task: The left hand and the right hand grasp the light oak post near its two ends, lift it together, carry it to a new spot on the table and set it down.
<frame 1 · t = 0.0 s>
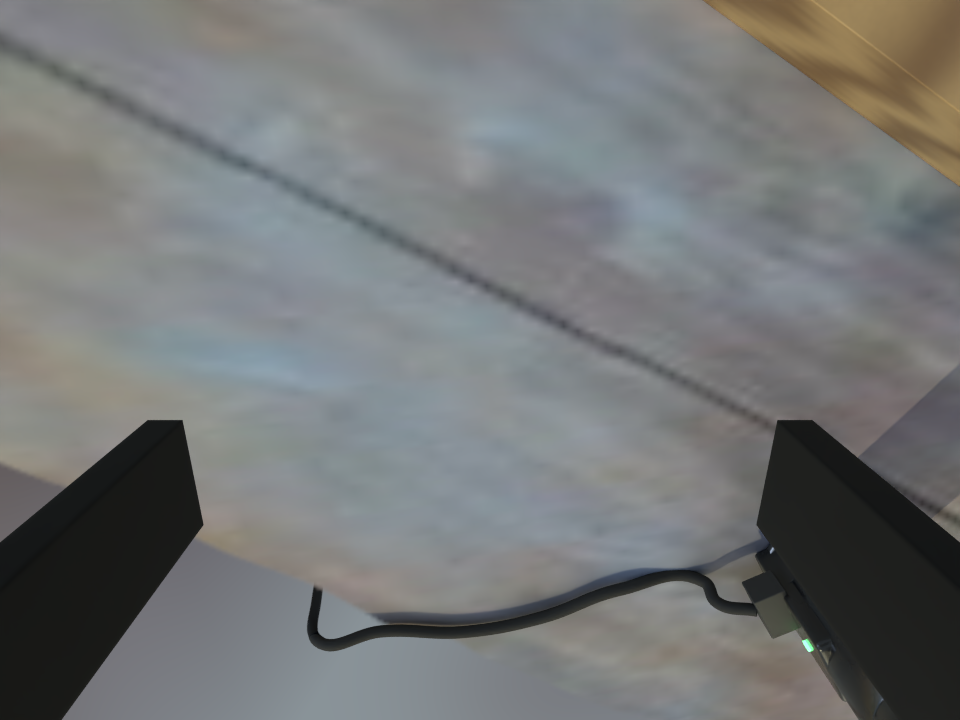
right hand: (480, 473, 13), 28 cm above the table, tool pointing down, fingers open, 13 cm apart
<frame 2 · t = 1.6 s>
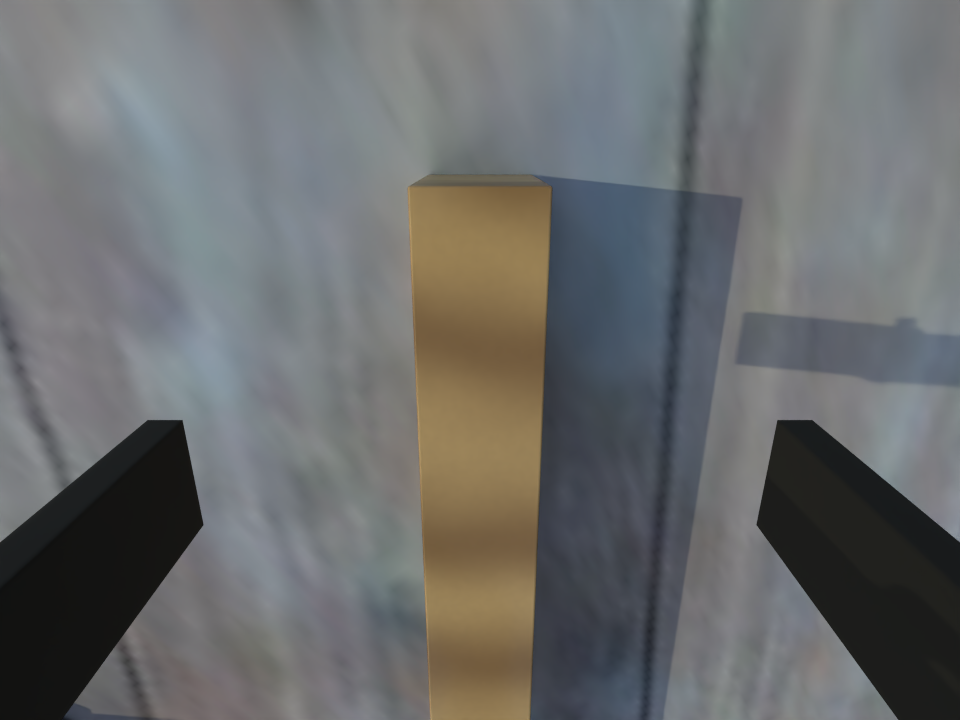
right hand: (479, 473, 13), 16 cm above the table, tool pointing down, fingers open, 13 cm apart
post: (480, 676, 36), on the table
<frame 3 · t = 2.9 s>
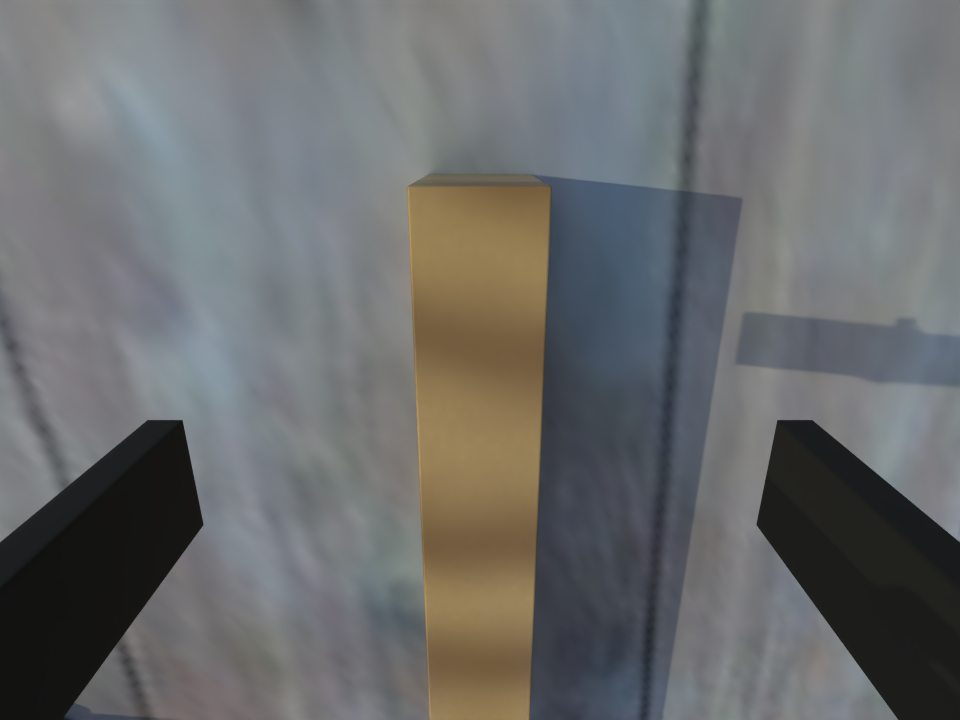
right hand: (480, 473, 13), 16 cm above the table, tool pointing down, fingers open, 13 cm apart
post: (479, 676, 36), on the table, touching left hand
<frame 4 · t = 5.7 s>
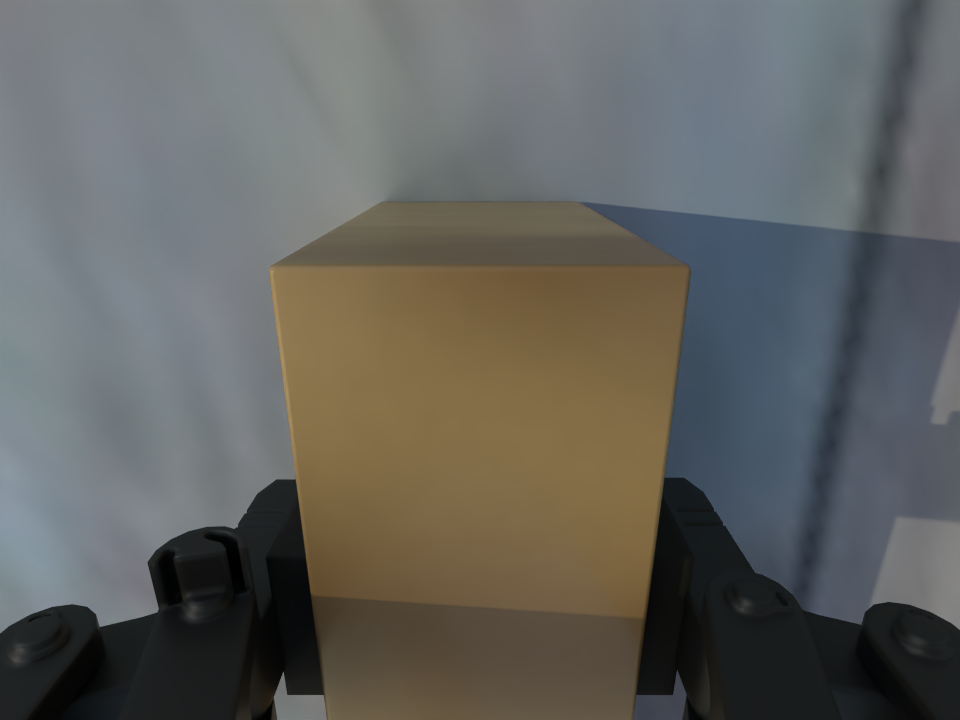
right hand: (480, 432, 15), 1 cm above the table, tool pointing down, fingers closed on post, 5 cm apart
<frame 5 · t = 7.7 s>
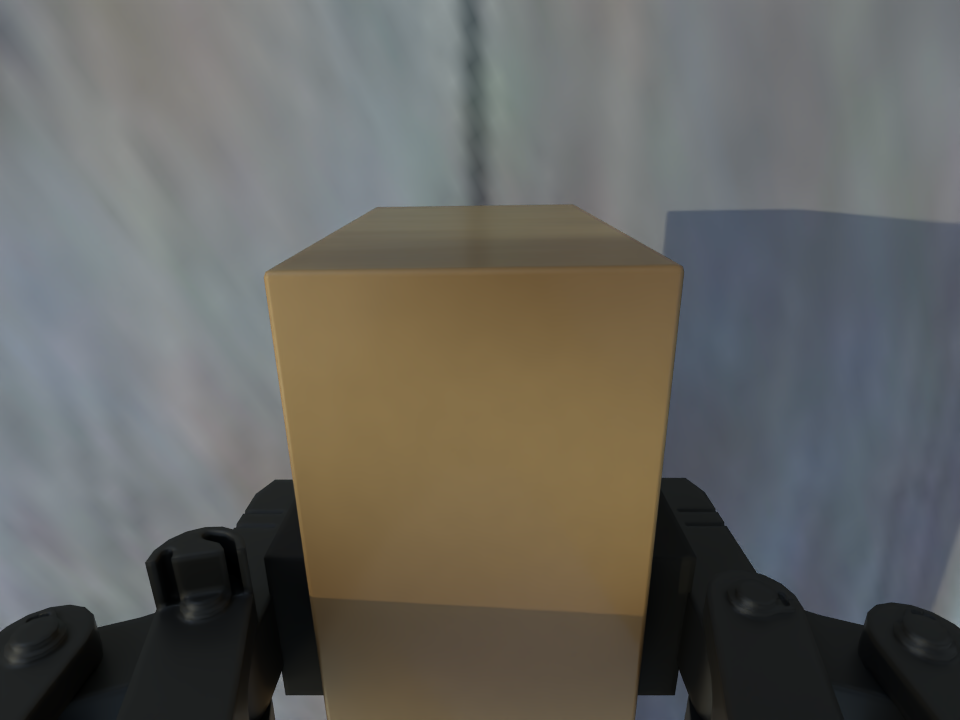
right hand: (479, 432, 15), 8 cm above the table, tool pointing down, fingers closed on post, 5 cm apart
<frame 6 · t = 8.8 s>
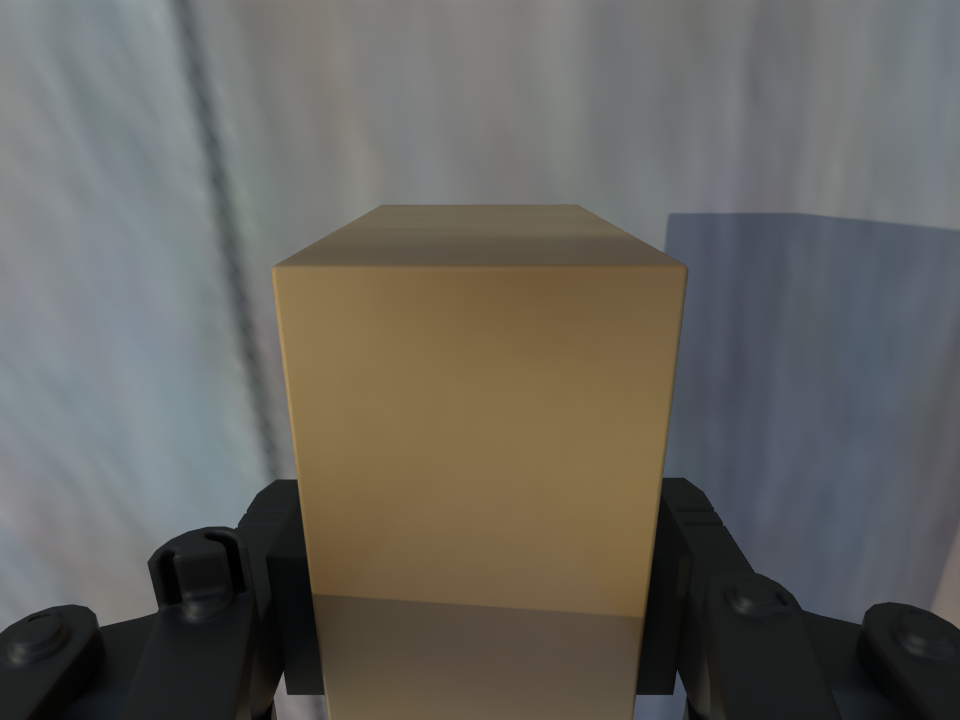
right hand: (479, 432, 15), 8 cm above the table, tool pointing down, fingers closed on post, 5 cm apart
when the right hand's fingers open (2 cm above the table, at t = 9.8 s): post drops 1 cm, on the table.
when the left hand's fingers open (4 cm above the table, at t = 9.9 s): post stays where it is, on the table.
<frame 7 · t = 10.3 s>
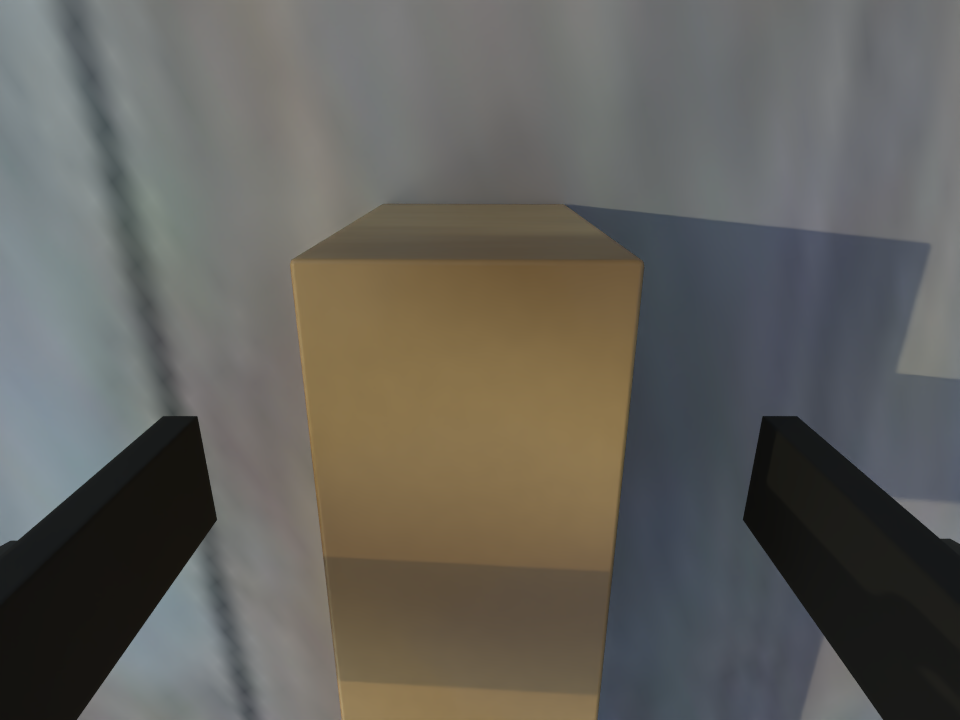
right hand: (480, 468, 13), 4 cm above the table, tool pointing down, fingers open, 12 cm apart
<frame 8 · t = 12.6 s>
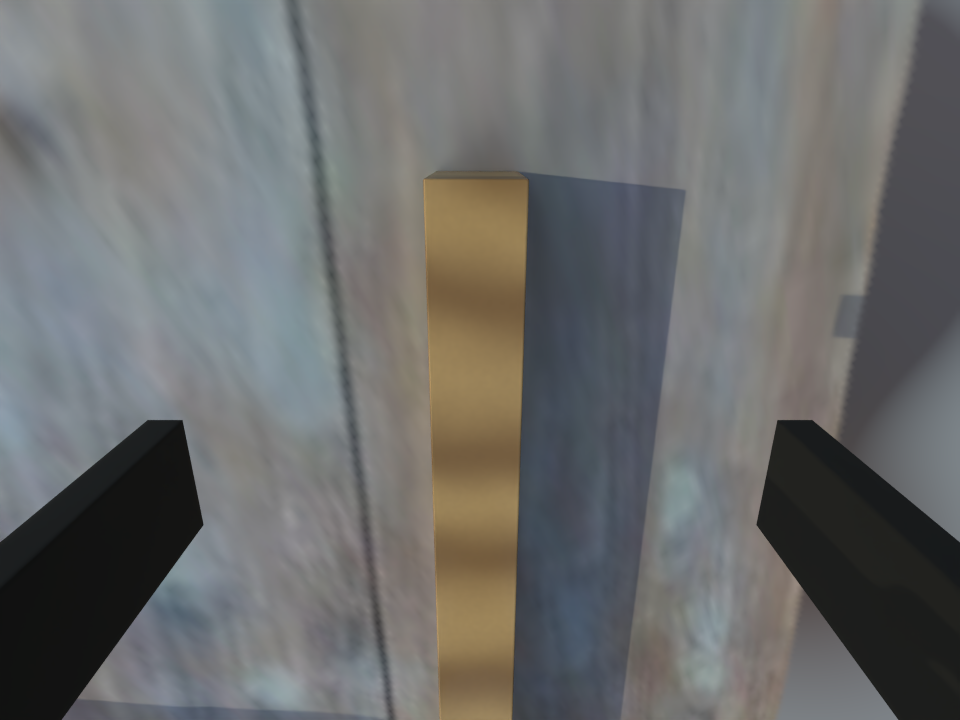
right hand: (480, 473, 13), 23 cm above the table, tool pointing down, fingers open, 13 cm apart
post: (476, 592, 43), on the table
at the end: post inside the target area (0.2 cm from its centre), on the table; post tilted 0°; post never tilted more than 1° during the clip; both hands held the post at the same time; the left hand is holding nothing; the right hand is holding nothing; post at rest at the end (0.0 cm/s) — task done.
